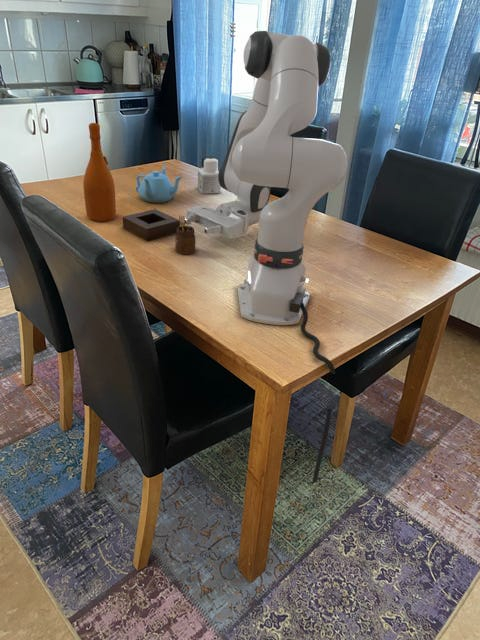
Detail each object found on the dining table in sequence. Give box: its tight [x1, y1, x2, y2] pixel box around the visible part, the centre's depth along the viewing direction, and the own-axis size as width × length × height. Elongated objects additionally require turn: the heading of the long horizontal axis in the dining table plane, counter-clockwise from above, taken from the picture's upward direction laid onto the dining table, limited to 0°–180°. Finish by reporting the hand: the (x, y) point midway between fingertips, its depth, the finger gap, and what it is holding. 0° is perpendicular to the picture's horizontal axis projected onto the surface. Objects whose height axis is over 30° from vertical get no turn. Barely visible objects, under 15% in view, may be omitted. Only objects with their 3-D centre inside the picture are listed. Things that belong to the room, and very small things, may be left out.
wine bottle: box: [82, 122, 117, 222], centre depth 157 cm, size 10×10×30 cm
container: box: [197, 156, 222, 194], centre depth 195 cm, size 8×8×13 cm
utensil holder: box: [174, 213, 196, 255], centre depth 143 cm, size 6×6×12 cm
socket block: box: [122, 208, 181, 242], centre depth 157 cm, size 13×13×4 cm
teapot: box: [135, 165, 183, 204], centre depth 183 cm, size 15×15×10 cm
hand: (195, 226), depth 145 cm, fingers open, 8 cm apart
